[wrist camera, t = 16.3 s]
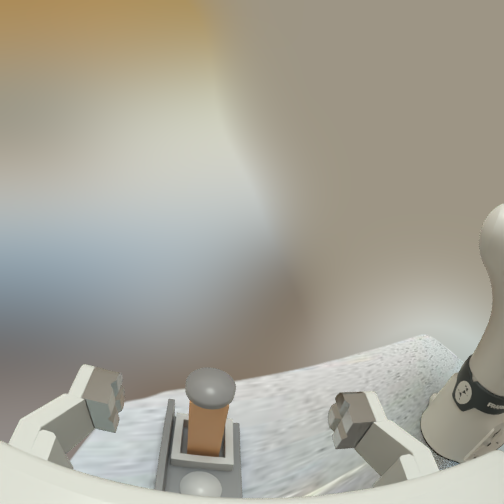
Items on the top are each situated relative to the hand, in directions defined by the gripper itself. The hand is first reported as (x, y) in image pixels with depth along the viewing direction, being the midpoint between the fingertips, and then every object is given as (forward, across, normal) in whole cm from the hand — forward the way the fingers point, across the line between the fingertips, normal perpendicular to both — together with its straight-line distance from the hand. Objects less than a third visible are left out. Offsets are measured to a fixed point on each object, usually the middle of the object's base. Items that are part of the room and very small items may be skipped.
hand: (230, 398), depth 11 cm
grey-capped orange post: (+15, 0, +29) cm, 33 cm away
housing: (+13, 0, +30) cm, 33 cm away
